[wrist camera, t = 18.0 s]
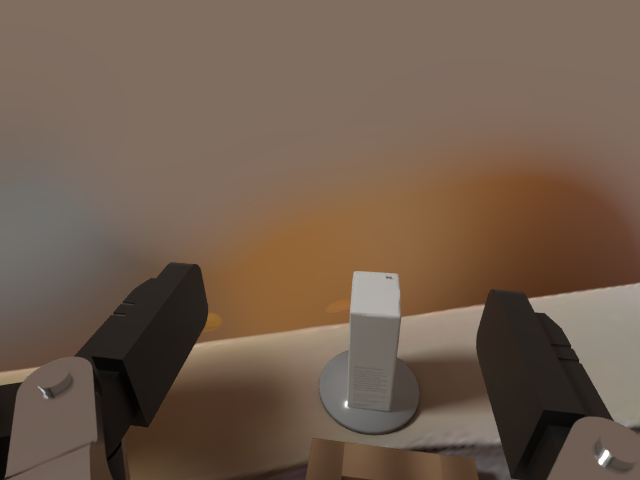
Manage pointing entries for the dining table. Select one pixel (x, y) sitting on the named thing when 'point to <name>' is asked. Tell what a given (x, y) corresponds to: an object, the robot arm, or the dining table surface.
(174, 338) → the robot arm
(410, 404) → the slate coaster
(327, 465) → the pocket block
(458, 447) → the dining table surface
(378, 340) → the skincare box
